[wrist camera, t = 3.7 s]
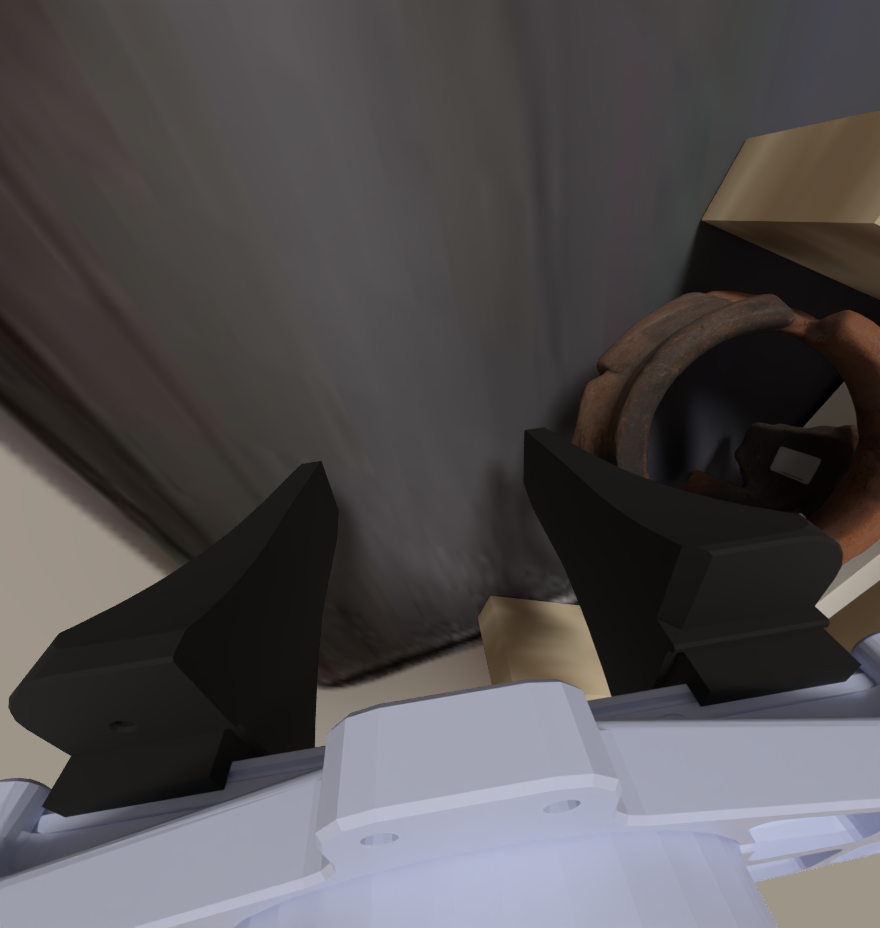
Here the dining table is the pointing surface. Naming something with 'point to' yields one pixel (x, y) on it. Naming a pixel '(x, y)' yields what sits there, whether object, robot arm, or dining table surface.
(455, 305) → the dining table surface
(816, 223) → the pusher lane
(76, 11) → the dining table surface
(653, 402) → the pottery mug
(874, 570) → the pusher plate
